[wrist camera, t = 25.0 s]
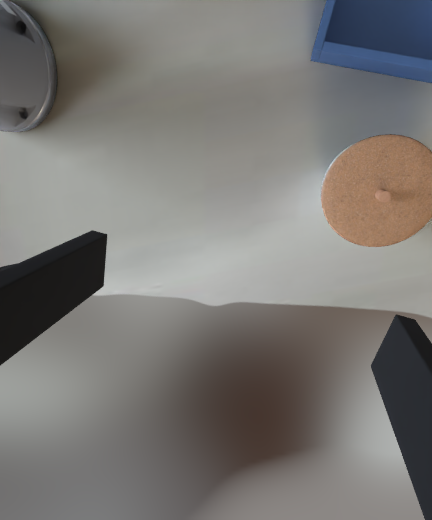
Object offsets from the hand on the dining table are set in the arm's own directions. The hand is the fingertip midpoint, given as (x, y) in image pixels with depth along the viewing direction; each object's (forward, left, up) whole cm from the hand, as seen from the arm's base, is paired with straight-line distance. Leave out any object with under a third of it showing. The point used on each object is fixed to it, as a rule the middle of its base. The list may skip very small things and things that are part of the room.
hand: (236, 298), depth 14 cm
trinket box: (+10, +4, -29) cm, 31 cm away
